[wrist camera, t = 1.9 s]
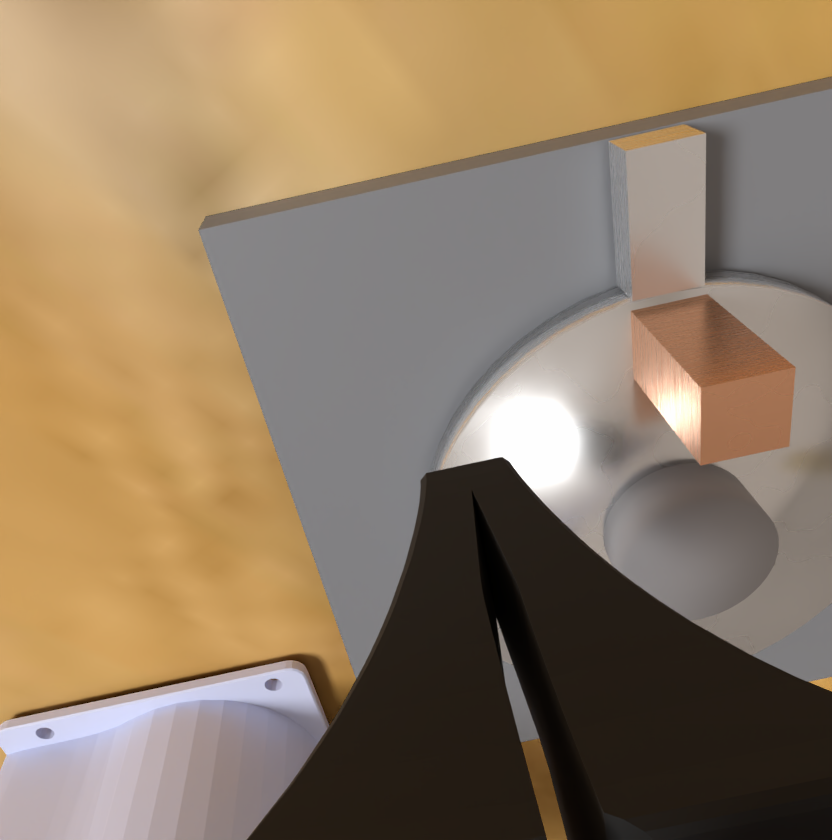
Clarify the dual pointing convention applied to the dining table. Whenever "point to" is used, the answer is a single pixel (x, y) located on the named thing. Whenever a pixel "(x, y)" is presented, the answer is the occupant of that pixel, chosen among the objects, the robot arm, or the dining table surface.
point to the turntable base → (505, 342)
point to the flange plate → (621, 422)
